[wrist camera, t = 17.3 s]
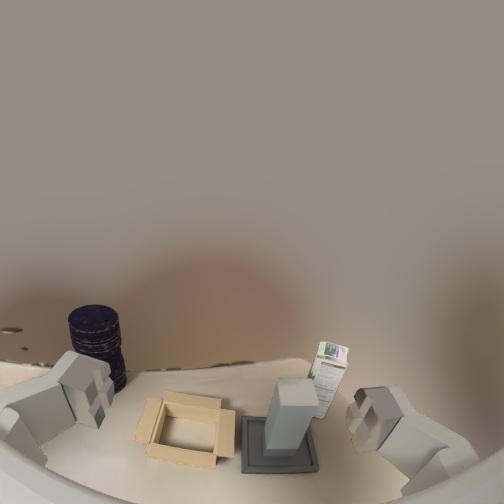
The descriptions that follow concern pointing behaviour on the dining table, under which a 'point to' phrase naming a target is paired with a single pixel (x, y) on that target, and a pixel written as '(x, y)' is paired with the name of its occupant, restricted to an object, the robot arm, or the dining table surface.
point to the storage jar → (99, 338)
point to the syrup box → (327, 373)
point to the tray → (273, 464)
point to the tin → (289, 416)
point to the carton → (190, 410)
